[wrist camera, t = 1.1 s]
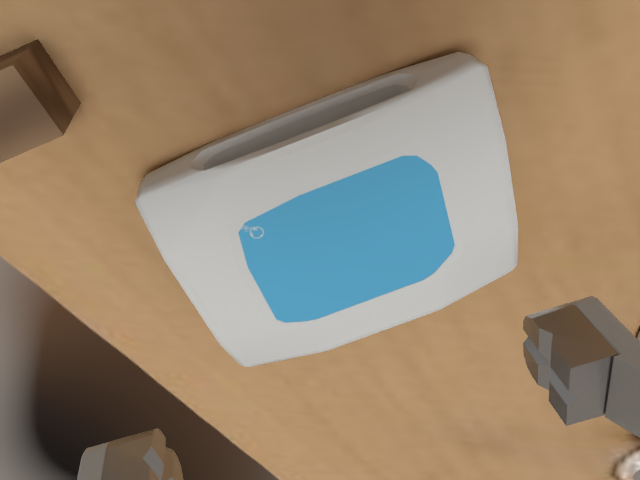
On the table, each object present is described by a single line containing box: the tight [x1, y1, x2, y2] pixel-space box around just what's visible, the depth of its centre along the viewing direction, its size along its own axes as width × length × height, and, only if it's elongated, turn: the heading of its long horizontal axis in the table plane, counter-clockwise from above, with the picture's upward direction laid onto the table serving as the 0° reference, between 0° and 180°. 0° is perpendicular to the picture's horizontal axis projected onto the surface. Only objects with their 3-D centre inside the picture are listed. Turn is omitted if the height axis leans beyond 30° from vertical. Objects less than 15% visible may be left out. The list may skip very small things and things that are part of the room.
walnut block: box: [0, 39, 81, 163], centre depth 37 cm, size 5×5×6 cm
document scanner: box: [135, 52, 518, 367], centre depth 48 cm, size 21×28×6 cm
